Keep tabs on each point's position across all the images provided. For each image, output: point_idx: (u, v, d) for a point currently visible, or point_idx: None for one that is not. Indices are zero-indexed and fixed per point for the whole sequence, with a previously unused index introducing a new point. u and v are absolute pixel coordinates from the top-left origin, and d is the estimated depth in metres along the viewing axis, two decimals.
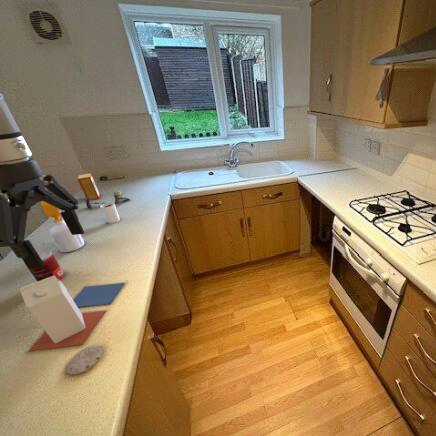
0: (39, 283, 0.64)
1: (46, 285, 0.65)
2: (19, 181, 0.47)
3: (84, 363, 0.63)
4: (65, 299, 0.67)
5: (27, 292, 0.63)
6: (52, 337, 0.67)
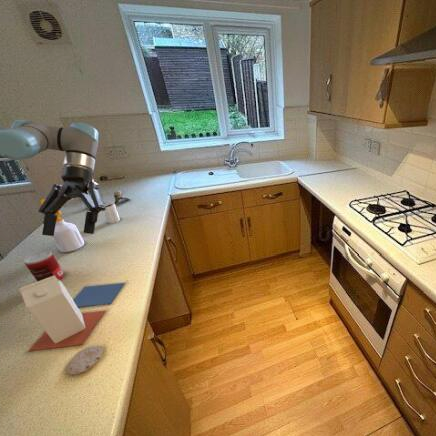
0: (39, 283, 0.64)
1: (46, 285, 0.65)
2: None
3: (84, 363, 0.63)
4: (65, 299, 0.67)
5: (27, 292, 0.63)
6: (52, 337, 0.67)
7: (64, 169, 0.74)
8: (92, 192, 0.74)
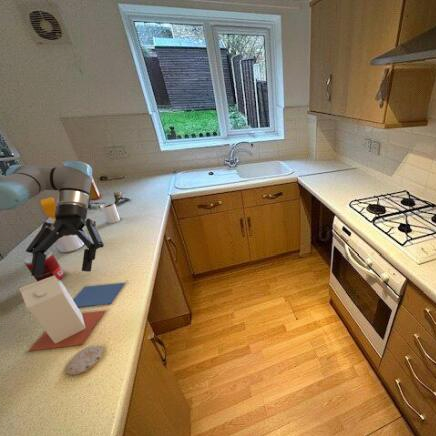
0: (39, 283, 0.64)
1: (46, 285, 0.65)
2: (85, 218, 0.79)
3: (84, 363, 0.63)
4: (65, 299, 0.67)
5: (27, 292, 0.63)
6: (52, 337, 0.67)
7: (59, 207, 0.74)
8: (90, 229, 0.75)
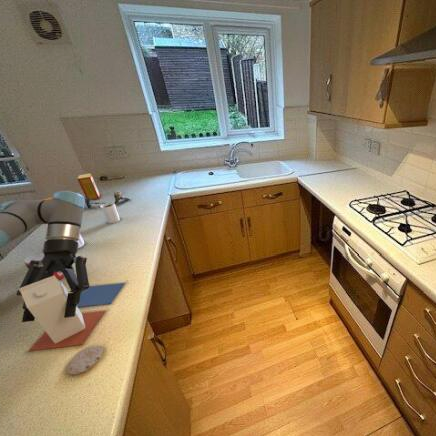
0: (39, 283, 0.64)
1: (46, 285, 0.65)
2: (76, 252, 0.74)
3: (84, 363, 0.63)
4: (65, 299, 0.67)
5: (27, 292, 0.63)
6: (52, 337, 0.67)
7: (48, 243, 0.69)
8: (79, 269, 0.70)
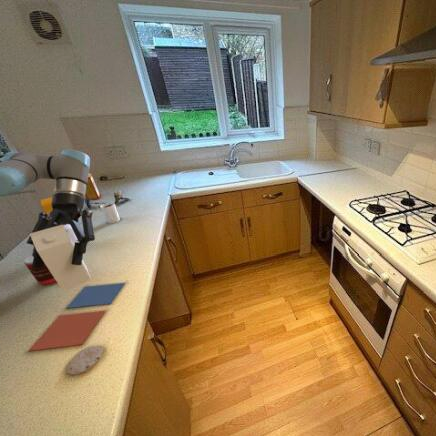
0: (48, 231, 0.68)
1: (54, 233, 0.69)
2: (82, 208, 0.78)
3: (84, 363, 0.63)
4: (72, 247, 0.71)
5: (37, 238, 0.67)
6: (60, 284, 0.71)
7: (56, 196, 0.73)
8: (85, 221, 0.73)
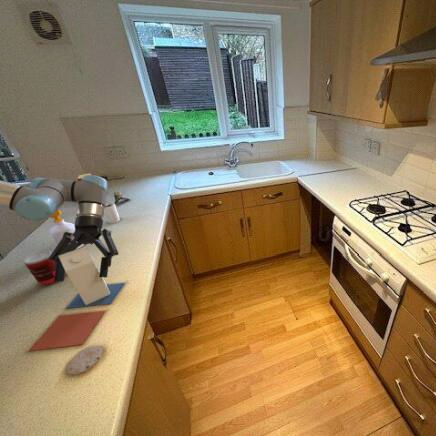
0: (74, 252, 0.76)
1: (80, 254, 0.77)
2: (101, 228, 0.86)
3: (84, 363, 0.63)
4: (95, 267, 0.79)
5: (65, 259, 0.75)
6: (84, 299, 0.80)
7: (79, 218, 0.81)
8: (107, 239, 0.82)
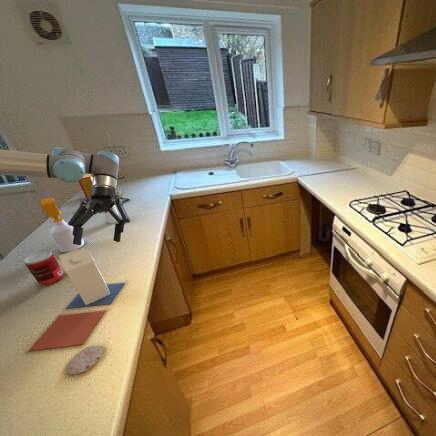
0: (74, 252, 0.76)
1: (80, 254, 0.77)
2: (114, 199, 0.95)
3: (84, 363, 0.63)
4: (95, 267, 0.79)
5: (65, 259, 0.75)
6: (84, 299, 0.80)
7: (94, 189, 0.89)
8: (120, 207, 0.90)
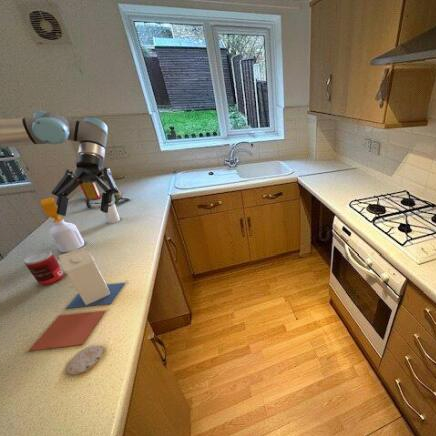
0: (74, 252, 0.76)
1: (80, 254, 0.77)
2: (102, 169, 0.89)
3: (84, 363, 0.63)
4: (95, 267, 0.79)
5: (65, 259, 0.75)
6: (84, 299, 0.80)
7: (80, 156, 0.84)
8: (107, 176, 0.85)
